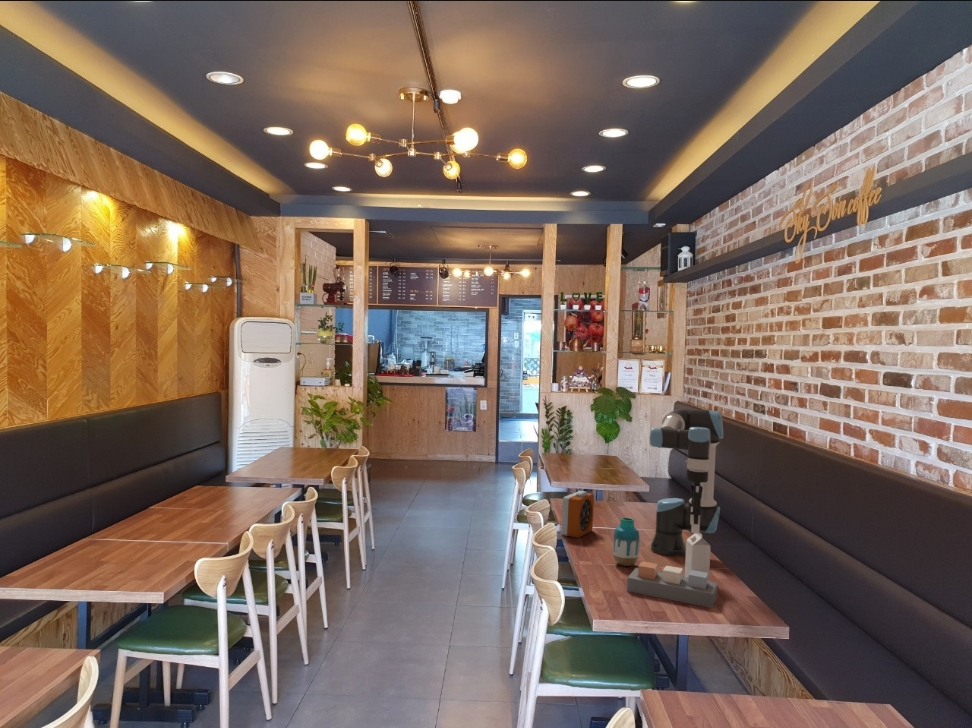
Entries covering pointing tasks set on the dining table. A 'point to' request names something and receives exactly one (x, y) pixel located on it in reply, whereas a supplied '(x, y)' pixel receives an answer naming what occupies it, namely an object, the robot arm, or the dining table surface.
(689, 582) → the key slate
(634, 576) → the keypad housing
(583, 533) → the alarm clock
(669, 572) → the key ivory
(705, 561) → the milk carton
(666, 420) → the robot arm
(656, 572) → the key rust
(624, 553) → the vase
